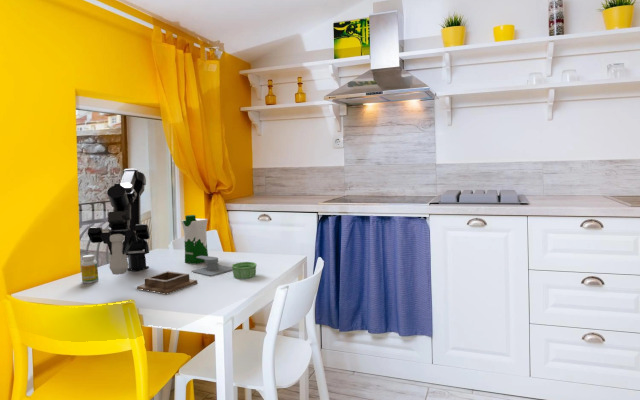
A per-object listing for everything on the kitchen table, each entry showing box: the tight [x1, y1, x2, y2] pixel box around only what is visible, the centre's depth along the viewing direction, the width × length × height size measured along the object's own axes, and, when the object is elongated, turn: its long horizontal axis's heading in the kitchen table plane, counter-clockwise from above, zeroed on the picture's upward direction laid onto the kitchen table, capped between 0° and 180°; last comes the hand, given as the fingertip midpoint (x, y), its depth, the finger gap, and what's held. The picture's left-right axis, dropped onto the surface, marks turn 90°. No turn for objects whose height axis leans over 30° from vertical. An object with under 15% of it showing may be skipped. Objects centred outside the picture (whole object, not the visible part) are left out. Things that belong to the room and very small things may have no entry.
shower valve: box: [191, 255, 233, 277], centre depth 179 cm, size 12×6×15 cm
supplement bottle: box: [80, 254, 99, 284], centre depth 168 cm, size 5×5×10 cm
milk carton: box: [180, 214, 209, 265], centre depth 194 cm, size 9×9×20 cm
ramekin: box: [231, 261, 257, 280], centre depth 169 cm, size 9×9×4 cm
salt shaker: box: [108, 234, 129, 276], centre depth 152 cm, size 6×6×13 cm
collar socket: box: [136, 270, 198, 295], centre depth 159 cm, size 14×14×4 cm
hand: (117, 254), depth 150 cm, fingers closed on salt shaker, 3 cm apart
